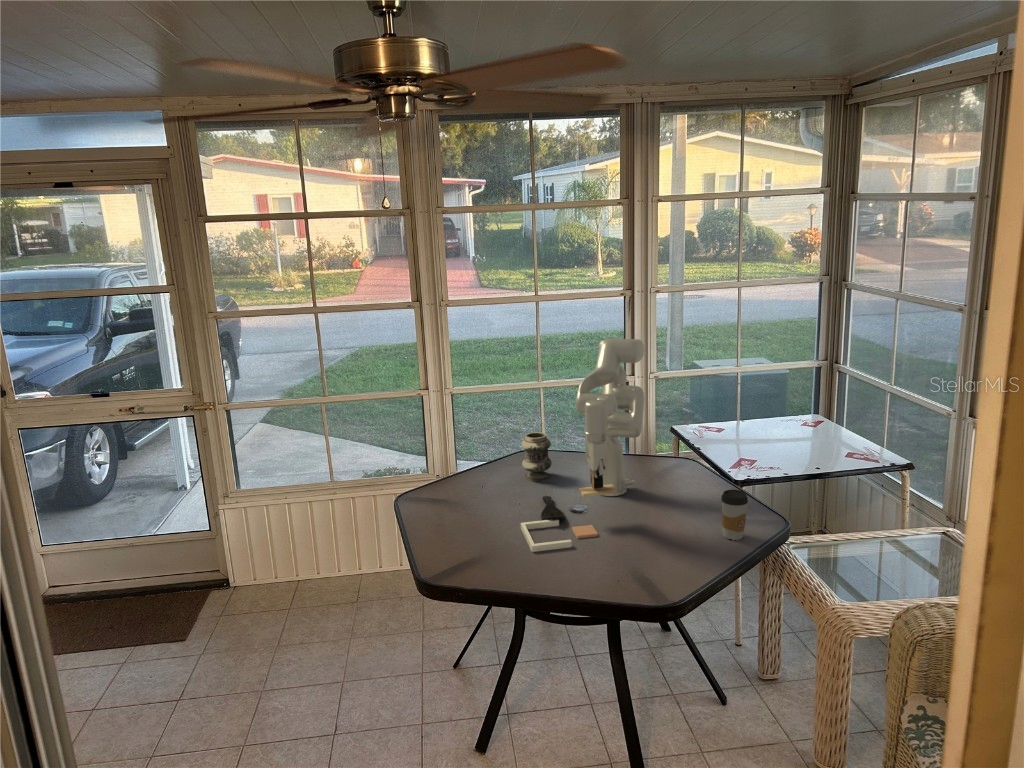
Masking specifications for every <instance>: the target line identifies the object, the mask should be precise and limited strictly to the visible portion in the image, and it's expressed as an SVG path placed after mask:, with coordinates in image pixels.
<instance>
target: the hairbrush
mask: <svg viewBox="0 0 1024 768" xmlns="http://www.w3.org/2000/svg"><path fill="white" fill-rule="evenodd" d="M542 501H544V502H545V504H546V505H545V506H544V507H543V510H541V513H540V519H541V521H542V520H551V519H558V520H560V519H561V520H563V519H566V515H565V511H564V509H560V508H559V507H558V506H557V507H556V504H554V503H553V502H552V501H553V500H552V496H551V495H550V496H549V495H544V496H542Z"/></svg>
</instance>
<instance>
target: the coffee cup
mask: <svg viewBox="0 0 1024 768" xmlns="http://www.w3.org/2000/svg"><path fill="white" fill-rule="evenodd" d="M748 500H749V498H748V496H747V493H746V492H745V491H742V490H739V489H726V490H724V491H722V495H721V523H722V535H723V537H724V536H725V537H726V538H728V539H732V540H731V541H734V540H736V541H739V540H738V539H741V538H742V539H743V538H744V533H745V527H746V520H747V519H746V518H747V507H748V503H749V501H748ZM725 537H724V538H725ZM726 538H725V539H726ZM728 539H727V540H728ZM742 539H741V540H742Z"/></svg>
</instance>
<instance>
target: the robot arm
mask: <svg viewBox="0 0 1024 768" xmlns="http://www.w3.org/2000/svg"><path fill="white" fill-rule="evenodd" d="M598 344H599V345H598V356H597V359H596V364H595V365H596V366H595V370H593V371H592V372H590V373H589V374H587V376H585V377H584V379H583V380H582V381H581V382H580V384H579V385H578V388H577V392H576V393H577V394H576V398H575V405H574V406H575V410H576V411H577V413H578V414H580V415H584V433H585V434H584V438H585V456H584V457H585V461H584V462H585V464H586V465H587V466H588V467H589V471H590V473H591V470H592V471H594V472H595V477H594V488H595V489H596V488H603V485H610V484H612V485H613V486H614V487H615V488H616V490H617V493H614V494H606V495H603V496H605V497H618V496H623V495H624V494H625V493H627V491H628V488H627V487H628V486H634V485H635V486H636V481H635V479H630V478H624V475H623V473H624V471H623V470H624V468H623V467H624V465H623V463H624V462H623V461H624V460H623V459H624V448H623V444H622V443H621V441H620V439H619V438H629V439H631V438H633V439H635V438H638V437H640V435H641V434H642V429H643V423H644V422H643V421H644V420H643V419H644V410H645V392H644V390H643V388H642V387H641V386H638V385H629V384H627V372H626V370H625V369H624V367H623V366H622V365H621V364H623V363H624V364H625V363H626V364H636V363H639V362H641V361H642V359H643V357H644V356H645V355H644V353H645V345H644V342H643V341H642V340H641V339H637V338H606V339H603V340H601V341H600V342H599V343H598ZM599 387H600V388H601V387H602V393H591V391H592V390H595V389H598V388H599ZM617 410H618V411H617ZM628 411H629V412H628ZM597 468H598V469H597ZM597 471H599V472H598V473H597ZM590 484H591V485H592V476H591V475H590Z"/></svg>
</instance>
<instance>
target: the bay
mask: <svg viewBox="0 0 1024 768" xmlns="http://www.w3.org/2000/svg"><path fill="white" fill-rule="evenodd" d="M559 526H560V519H550V520H542V519H541V520H534V521H527V522H520V529H521V531H522V534H523V536H524V538H525V540H526V542H527V545H528V547H529V549H530V551H531V553H534V552H536V553H537V552H543V551H551V550H559V549H560V550H561V549H569V548H573V542H572V540H571V539H565V540H556V541H555V540H554V541H546V542H539V543H535V542H534V540H533V538H532V536H531V534H530V532H529V530H535V529H543V528H553V527H559Z"/></svg>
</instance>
